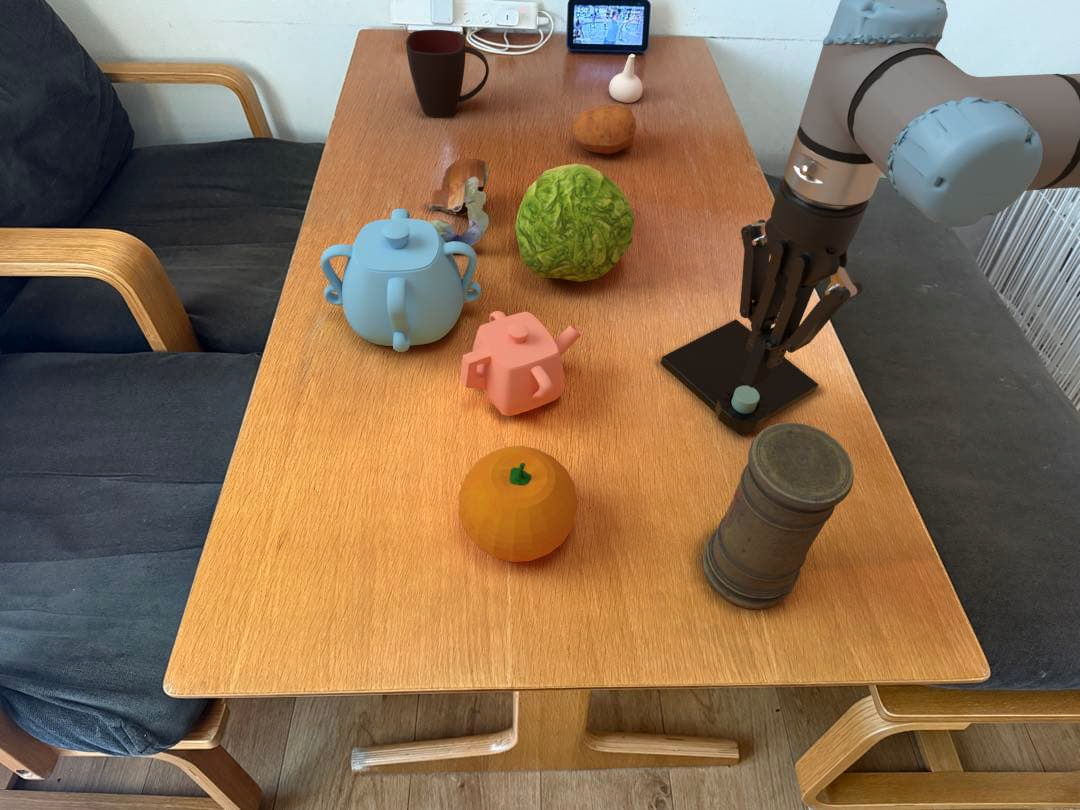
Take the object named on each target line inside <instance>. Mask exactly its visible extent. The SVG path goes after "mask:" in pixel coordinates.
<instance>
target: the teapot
mask: <svg viewBox="0 0 1080 810" xmlns="http://www.w3.org/2000/svg"><path fill="white" fill-rule="evenodd" d="M488 318H489V320H488V321H489V322H486V323H483V324H481V325H479V327H478V329H477V332H476V335H475V338H474V342H473V346H472V351H470V352H467V353H465V354H462V359H461V368H460V375H459V376H460V377H459V378H460V382H461V383H462V384H463V386H464V387H465V388H466V389H475V390H482V391H483V392H484V394H485V395H486V397H487V398H488V399H489V401H490V402H491V403H492V404H493V406H495V408H496V409H497V410H498V411H499V412H500V413H501V415H503V416H506V417H507V416H508V417H511V416H512V417H513V416H516V415H519V414H523V413H526V412H528V411H531V410H535V409H537V408H539V407H542V406H545V405H547V404H549V403H552V402H554V401H556V400H558V399H559V397H560V396H561V395H562V393H563V391H564V388H565V372H564V365H563V361H562V357H561V356H563V354H565V352H567V350H568V349H569V348H570V347H571V346H572V345H574V344H575V343H576V341H578V340H579V338H580V337H582V335H583V334H582V332H581V331H580V330H579V329H578V328H577V327H576V326H574V324H572V323H571V324H569V325H568V326H567V327H566V328H565V329H564V330H563V331H562V333H560V334H559V335H558V336H557V337H556V338H555V339H554V338H553V336H552V335H551V334H550V332H549V331H548V330H547V328H546V327H545V326H544V324H542V322H540V320H539V319H538V318H537V317H536V316H535V315H534V314H532V313H531V312H529V311H522V312H518V313H515V314H510V315H506V314H505V313H504V312H503V311H501V310H496V311H493V312H491V313H490V314H489V317H488Z"/></svg>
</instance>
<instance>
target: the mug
mask: <svg viewBox="0 0 1080 810" xmlns="http://www.w3.org/2000/svg"><path fill="white" fill-rule="evenodd" d="M405 47H406V55H407V61H408V62H407V63H408V68H409V72H410V75H411V79H412V82H413V87H414V90H415V94H416V96H417V99H418V102H419V105H420V107H421V110H422V113H424V115H425V116H426V117H429V118H437V119H439V118H440V119H442V118H452V117H454V115H455V114H457V110H458V107H459V103H464V102H467V101H469V100H471V99H472V98H473V97H475V96H476V95H477V94H478V93H480V91H481V90H482V89H483V88H484V87H485V85H486V83H487V81H488V78H489V74H490V66H489V63H488V60H487V58H486V56H485V55H484V54H483V53H482V52H481V51H479V50H478V49H476V48H474V47H471V46H467V45H466V39H465V37H464V36H463V34H461V32H458V31H454V30H448V29H422V30H420V29H419V30H415V31H413V32H411V33H410V34H409V35H408V37H407V38H406V40H405ZM466 54H471V55H473V56H476V57H477V58H478V59H480V60H481V61H482V63H483V64H484V67H485V74H484V77H483V79H482V80H481V82H480V83H479V84H477V86H476V87H475V88H473V90H471V91H469V92H468V93H466V94H464V95H462V94H461V93H462V89H463V83H464V74H465V67H466Z"/></svg>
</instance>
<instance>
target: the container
mask: <svg viewBox="0 0 1080 810" xmlns="http://www.w3.org/2000/svg"><path fill="white" fill-rule="evenodd" d="M747 455H748V456H747V458H748V460H747V464H746V465H745V467H744V468H743V470H742V472H741V475H740V479H739V482H738V485H737V487H736V489H735V491H734V494H733V497H732V498H731V500H730V503H729V505H728V507H727V510H725V511H726V512H725V513H724V516H723V517H722V518H721V519H720V522H719V523H718V526H717V527H716V529H714V531H713V532H712V533H711V535H710V537H709V539H708V540H707V542H706V544H705V546H704V548H703V552H702V568H703V572H704V576H705V579H706V580H707V582H708V584H709V585H710V586H711V588H712V589H713V590H714V591H715V592H716V594H718V595H719V596H720V597H721V598H723V599H724V600H725V601H727V602H729V603H731V604H733V605H735V606H737V607H740V608H745V609H751V610H764V609H765V610H766V609H768V608H772V607H775V606H777V605H779V604H781V603H782V602H783V601H785V600H786V599H787V598H789V596H790V595H791V593H792V592H793V591H794V589H795V587H796V584H797V582H798V580H799V578H800V575H801V568H802V567H803V566H804V564H805V562H806V559H807V554H808V552H809V550H810V549H811V548H812V546H813V544H814V542H815V541H816V539H817V537H818V535H819V534H820V532H821V531H822V529H823V527H824V526H825V524H826V523H827V521H829V520H830V518H831V517H832V516H833V514H834V511H835V508H836V506H838V505H839V504H840V503H842V502H843V501H844V500H845V499H846V498H847V496H849V494H850V493H851V490H852V488H853V484H854V475H855V474H854V466H853V462H852V460H851V457H850V455H849V453H848V452H847V450H846V449H845V447H843V445H842V444H841V443H840V442H839V441H838V440H836V439H835V438H834V437H833V436H832V435H830V434H829V433H827V432H825V430H821V429H820V428H817V427H815V426H812V425H809V424H805V423H800V422H789V421H788V422H779V423H775V424H772V425H769V426H767V427H765V428H764V429H763V430H761V431H760V432H759V433H757V434H756V436H755V437H754V438H753V440H752V441H751V443H750V446H749V449H748V454H747Z"/></svg>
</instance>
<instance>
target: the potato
mask: <svg viewBox="0 0 1080 810" xmlns="http://www.w3.org/2000/svg"><path fill="white" fill-rule="evenodd" d="M570 127H571V128H570V129H571V130H570V135H571V137H572V138H573V140H574V141H575V143H576V144H577V145H578V147H580V148H581V149H583V150H585V151H588V152H591V153H597V154H603V155H604V154H605V155H609V154H614V153H617V152H620V151H622V150H624V149H626V148H628V147H630V146H631V145H632V144H633V143H634V139H635V135H636V132H637V127H638V126H637V122H636V118H635V116H634V113H633V111H632V110H631V108H630V106H628V105H626V104H623V103H622V102H620V103H613V104H605V105H600V106H599V105H598V106H596V107H594V108H590V109H587V110H584V111H581V112H580V113H579V114H577V115H576V116H575V117H574V118H573V120H572V122H571V126H570Z"/></svg>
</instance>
